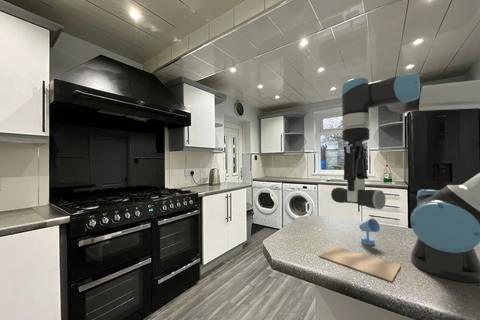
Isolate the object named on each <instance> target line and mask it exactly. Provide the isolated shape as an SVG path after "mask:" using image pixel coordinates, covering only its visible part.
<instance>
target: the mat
mask: <svg viewBox="0 0 480 320" xmlns="http://www.w3.org/2000/svg"><path fill="white" fill-rule="evenodd" d="M318 257H319V258H321V259H324V260H327V261H330V262H333V263H336V264H338V265H341V266H344V267H347V268H350V269H352V270H355V271H358V272H360V273H361V272H362V273H365V274H367V275H369V276H373V277H375V278H378V279H381V280H384V281H386V282H390V283H393V281H394V280H395V278H396V276H397V274H398V273H399V270H400V269H401V268H402V265H401V264H398V263H394V262H392V261H387V260H385V259H381V258H377V257H375V256H371V255H367V254H364V253H361V252H357V251H353V250H350V249H347V248H344V247H339V246H337V245H332V246H331V247H329V248H328V249H327V250H325V251H324V252H322V253H320V254H319V255H318Z"/></svg>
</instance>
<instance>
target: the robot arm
mask: <svg viewBox="0 0 480 320" xmlns="http://www.w3.org/2000/svg"><path fill="white" fill-rule="evenodd" d="M341 89H342V91H341V106H342V107H341V109H342V110H341V111H342V119H341V120H340V123H341V124H342V129H343V130H342V133H341V134H342V141H343V142H348V143H347V145H346V146H344V147H343V153H344V157H343V158H344V159H343V160H344V161H343V164H344V165H343V180H344V181H346V186H347V187H346V189H347V201H351V202H358V190H366V180H368V179H369V176H368V171H367V169H368V168H367V167H368V166H367V163H368V162H367V149H368V148H367V147H365V146H364V143H363V142H364V141H365V142H366V141H369V140H370V129H369V126H370V108H371V109H373V108H378V107H384V106H386V107H387V109H388V110H389V111H391V112H392V113H394V114H401V115H402V114H405V113H409V112H420V111H421V112H422V111H440V110H441V111H442V110H443V111H444V110H447V111H448V110H466V109H469V110H470V109H480V79H475V80H467V81H466V80H465V81H455V82H446V83H440V84H438V83H437V84H429V85H422V86H421V81H420V75H419V73H418V72H411V73H406V74H405V73H404V74H399V75H397V76H392V77H389V78H386V79H380V80H377V81H373V82H369V79H368V78H366V77H357V78H356V77H355V78H352V79H349V80H346V81H344V83H343V85H342V88H341ZM416 202H417V203H416V204H417V205H416V207H415V208H413V210H412V211H411V213H410V224H411V229H412V231H413V233H414V234H415V235H416V237H417V239H416V241H415V244H414V246H413V248H412V250H411V253H410V262H412V264H413V265H414V266H415V267H417V268H419V269H421V270H423V271H425V272H427V273H428V274H431V275H435V276H438V277H439V278H440V277H441V278H444V279H447V280H450V281H455V282H456V281H457V282H461V283H470V284H471V283H473V284H476V283H480V259H479V256H478V255H477V254H478V253H477V252H476V250H475V248H476V247H477V246H478V245H479V244H480V172H478V173H477V174H475V175H474V176H473V177H471V178H470V179H468V180H467V181H465V182H464V183H462V184H447V185H446V186H444V187H443V188H441V189H439V190H436V189H419V190H418V191H417V193H416Z"/></svg>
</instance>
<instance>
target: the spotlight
mask: <svg viewBox="0 0 480 320" xmlns="http://www.w3.org/2000/svg"><path fill="white" fill-rule="evenodd" d="M359 229H360V231H361V232H366V236H361V238H360V241H361V242H360V243H362V244H364V245H365V246H366V245H367V246H374V245H375V238H373V237H370V232H371V233H378V232H379V231H380V229H381V227H380V223H379V222H378V220H376V219H375V218H369V219H367V220H366V221H364V222H361V223H360V224H359Z"/></svg>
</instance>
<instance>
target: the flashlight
mask: <svg viewBox="0 0 480 320" xmlns="http://www.w3.org/2000/svg"><path fill="white" fill-rule="evenodd" d="M330 196H331V199H332V200H333V202H335V203H341V204H345V203H346V204H347V203H348V204H357V205H358V206H361V207H367V208H370V209H377V210H382V209H383V208H384V207H385V205H386V199H387V198H386V194H385V193H384V191H382V190H379V189H365V190H358V202H351V201H347V188H345V187H335V188H333V189H332V190H331V194H330Z"/></svg>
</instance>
